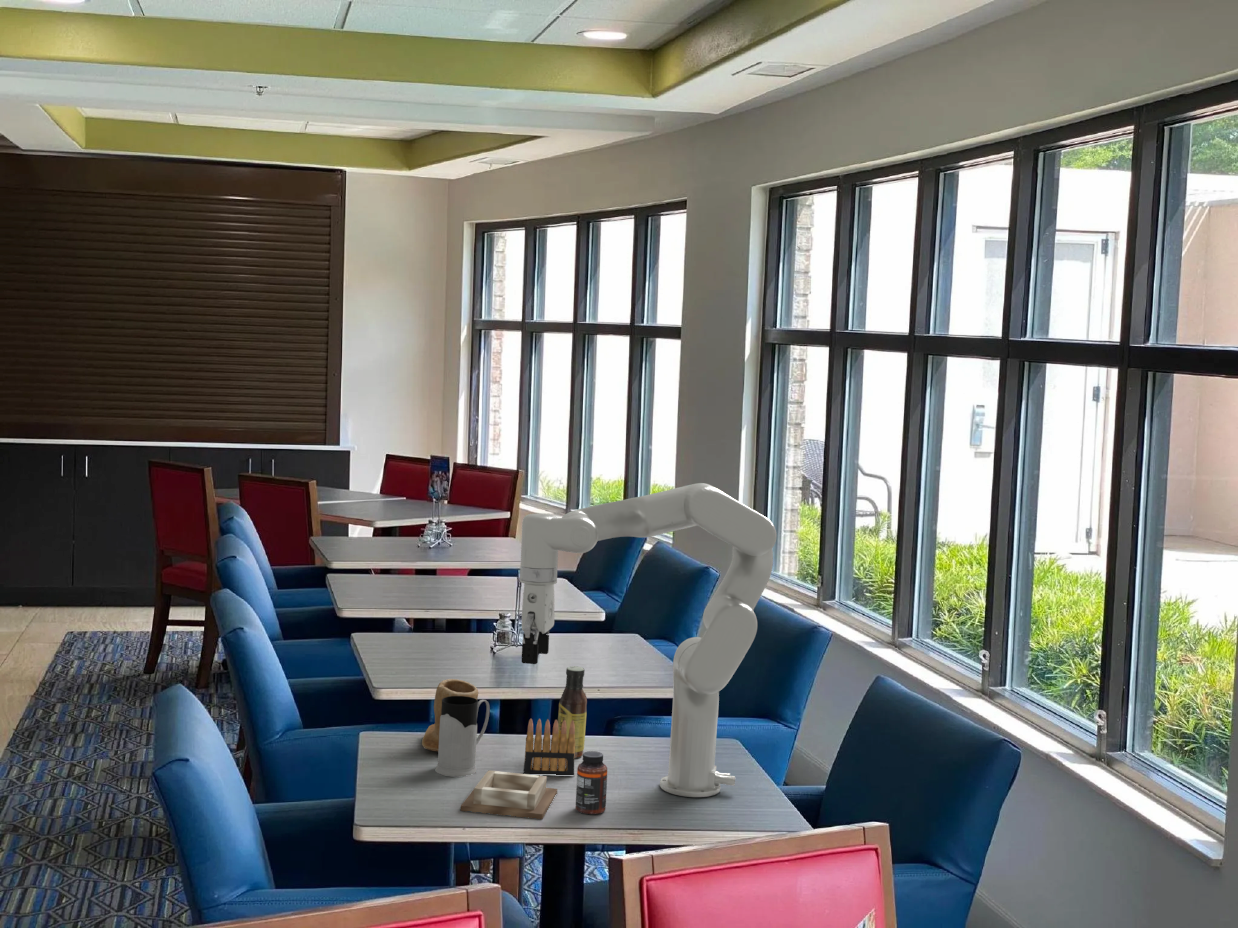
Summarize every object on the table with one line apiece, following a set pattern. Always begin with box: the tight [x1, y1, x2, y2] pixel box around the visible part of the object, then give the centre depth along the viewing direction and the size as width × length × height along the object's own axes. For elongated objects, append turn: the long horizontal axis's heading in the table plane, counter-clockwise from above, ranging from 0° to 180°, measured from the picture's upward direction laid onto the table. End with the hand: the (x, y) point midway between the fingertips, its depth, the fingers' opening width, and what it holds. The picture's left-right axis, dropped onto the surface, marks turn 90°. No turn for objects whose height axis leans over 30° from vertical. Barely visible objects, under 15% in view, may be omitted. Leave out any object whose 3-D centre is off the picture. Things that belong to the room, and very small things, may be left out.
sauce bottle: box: [557, 665, 588, 759], centre depth 297 cm, size 7×6×20 cm
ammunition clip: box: [523, 718, 575, 776], centre depth 283 cm, size 11×2×12 cm, turn 94°
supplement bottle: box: [575, 750, 608, 815], centre depth 261 cm, size 6×6×11 cm
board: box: [460, 770, 558, 820], centre depth 264 cm, size 16×16×4 cm
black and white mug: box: [435, 696, 491, 778], centre depth 284 cm, size 9×14×15 cm, turn 146°
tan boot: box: [421, 678, 479, 752], centre depth 299 cm, size 15×12×15 cm
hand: (535, 658), depth 273 cm, fingers open, 9 cm apart
